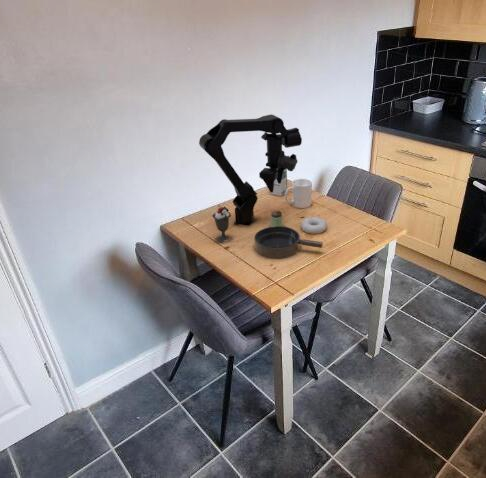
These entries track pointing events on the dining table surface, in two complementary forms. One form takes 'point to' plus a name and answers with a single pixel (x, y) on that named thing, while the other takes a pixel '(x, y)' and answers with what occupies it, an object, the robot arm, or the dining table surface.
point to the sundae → (222, 222)
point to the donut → (313, 225)
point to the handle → (311, 243)
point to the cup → (300, 193)
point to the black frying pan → (277, 242)
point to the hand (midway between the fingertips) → (275, 187)
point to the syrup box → (280, 185)
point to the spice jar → (276, 218)
